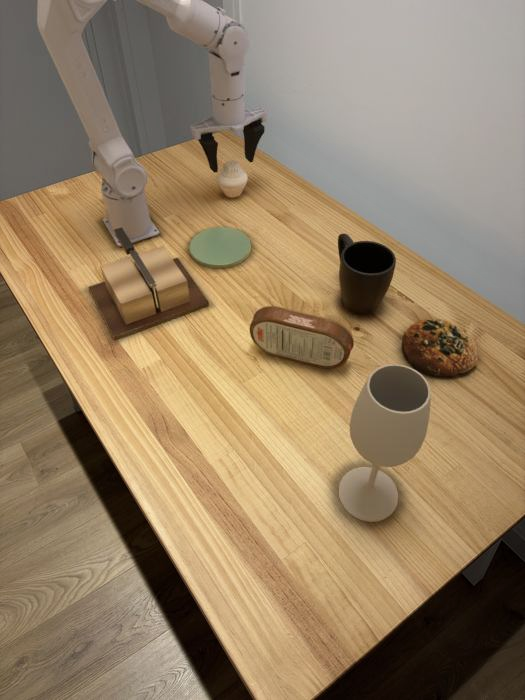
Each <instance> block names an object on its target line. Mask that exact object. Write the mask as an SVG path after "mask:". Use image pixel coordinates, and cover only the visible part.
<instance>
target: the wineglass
mask: <svg viewBox="0 0 525 700" xmlns="http://www.w3.org/2000/svg"><path fill="white" fill-rule="evenodd" d="M430 386H431V385H430V383H429V382H428V380H427V379H426V378H425V377H424V375H423V374H422V373H421V372H420V371H418V370H416V369H415V368H413V367H410V366H407V365H404V364H398V363H390V364H385V365H381V366H379V367H377V368H375V369H374V370H373V371H372V372H371V373H370V374H369V375H368V377H367V379H366V381H365V383H364V385H363V387H362V388H361V390H360V392H359V394H358V396H357V398H356V400H355V403H354V406H353V408H352V411H351V416H350V421H349V436H350V440H351V443H352V445H353V447H354V449H355V451H357V453H358V455H360V456H361V457H362V458H363V459H364V460H365V461H367V462H369V463H370V464H372V467H370V466H358V467H355V468H353V469H350V470H349V471H347V472H346V473H345V474H344V475H343V476H342V478H341V480H340V481H339V485H338V498H339V501H340V504H341V506H342V507H343V508H344V510H345V511H346V512H347V513H348V514H349V515H351V516H352V517H354V518H355V519H358V520H360V521H363V522H367V523H374V522H375V523H376V522H380V521H383V520H385V519H388V517H390V516H391V515H392V514H394V512H395V511H396V508H397V506H398V502H399V492H398V489H397V486H396V483H395V482H394V481H393V479H392V478H391V477H390V476H389V475H388V474H387V473H385V472H384V471H382V470H380V467H382V468H383V467H384V468H395V467H398V466H401V465H404V464H405V463H407V462H408V461H411V460H412V459H414V458H415V456H416V455H417V454H418V453H419V451H420V450H421V448H422V446H423V444H424V441H425V439H426V436H427V433H428V428H429V423H430V422H429V421H430V416H431V415H430V414H431V403H432V402H431V400H432V392H431V387H430Z"/></svg>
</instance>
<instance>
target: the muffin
mask: <svg viewBox="0 0 525 700" xmlns="http://www.w3.org/2000/svg"><path fill="white" fill-rule="evenodd" d="M248 179H249V177H248V173H247V172H246V171H245V170H244V169H243V168H242V166H241V164H240V162H239V161H236V160H233V159H232V160H227V161H225V162H224V163H223V164H222V168H221V169H220V170H218V172H217V174H216V182H217V183H218V186H219V188H220V189H221V191H222V192H223V193H224V196H226V197H228V198H238V197H240V196H241V195H242V193H243V191H244V189H245V187H246V185H247V182H248Z"/></svg>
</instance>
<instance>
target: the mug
mask: <svg viewBox="0 0 525 700" xmlns="http://www.w3.org/2000/svg"><path fill="white" fill-rule="evenodd" d="M337 250H338V251H337V252H338V257H339V270H338V280H339V281H338V282H339V289H340V293H341V299H342V302H343V306H344V308H345V309H346V310H347V311H348V312H350V313H352V314H353V315H356V316H357V315H358V316H367V315H370V314H373V313H374V312H376V310H377V309H378V307H379V306H380V304H381V303H382V301H383V299H384V298H385V296H386V294H387V293H388V291H389V289H390V286H391V284H392V280H393V278H394V274H395V270H396V269H395V268H396V264H397V258H396V255H395V253H394V252H393V250H392V249H391V248H389V247H388V246H386V245H385V244H383V243H381V242H377V241H372V240H359V241H355V242H354V240H353V239H352V238H351V237H350V235H348V233H345V232H344V233H341V234H339V235H338V237H337Z"/></svg>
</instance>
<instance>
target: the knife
mask: <svg viewBox="0 0 525 700" xmlns="http://www.w3.org/2000/svg"><path fill="white" fill-rule="evenodd" d="M114 232H115V235H116V237H117V239H118V240H119V242H120V244H121V245H122V246H121V247H122V249H123V251H124V252H125V254H126V255H127V256H128V255H130V257H131V259H132V261H133V262H134V264H135V266H136V267H137V269H138V271H139V272H140V274H141V276H142V277H143V279H144V280H145V282H146V284H147V285H148V287H149V289H150V290H151V292H152V295H153V300H154V305H155V306H156V308H157V309H159V306H158V301H157V296H156V291H155V286H157V285H156V282H155V281H154V279H153V277H152V276H151V274H150V273H149V271H148V269H147V268H146V266H145V265H144V263H143V261H142V260H141V258H140V257H139V255H138V254H139V253H138V251H136V248H135V246H134V243H131V241H130V239H129V238H128V236H127V235H126V233H125V231H124V230H123V228H122V227H121V228H118V229H114Z"/></svg>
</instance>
